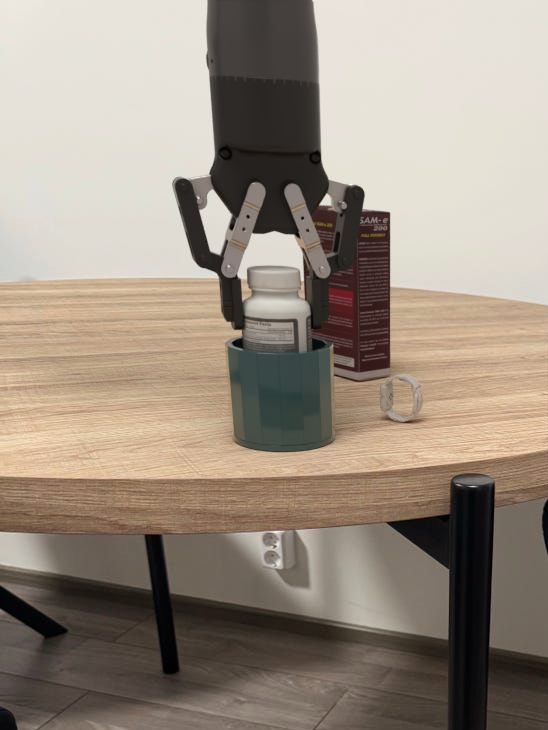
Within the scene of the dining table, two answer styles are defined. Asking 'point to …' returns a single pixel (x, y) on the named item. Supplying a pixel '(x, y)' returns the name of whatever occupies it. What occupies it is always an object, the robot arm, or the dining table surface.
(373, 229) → the supplement box
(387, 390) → the grey marbled ring
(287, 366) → the cup
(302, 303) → the pill bottle
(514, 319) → the dining table surface
